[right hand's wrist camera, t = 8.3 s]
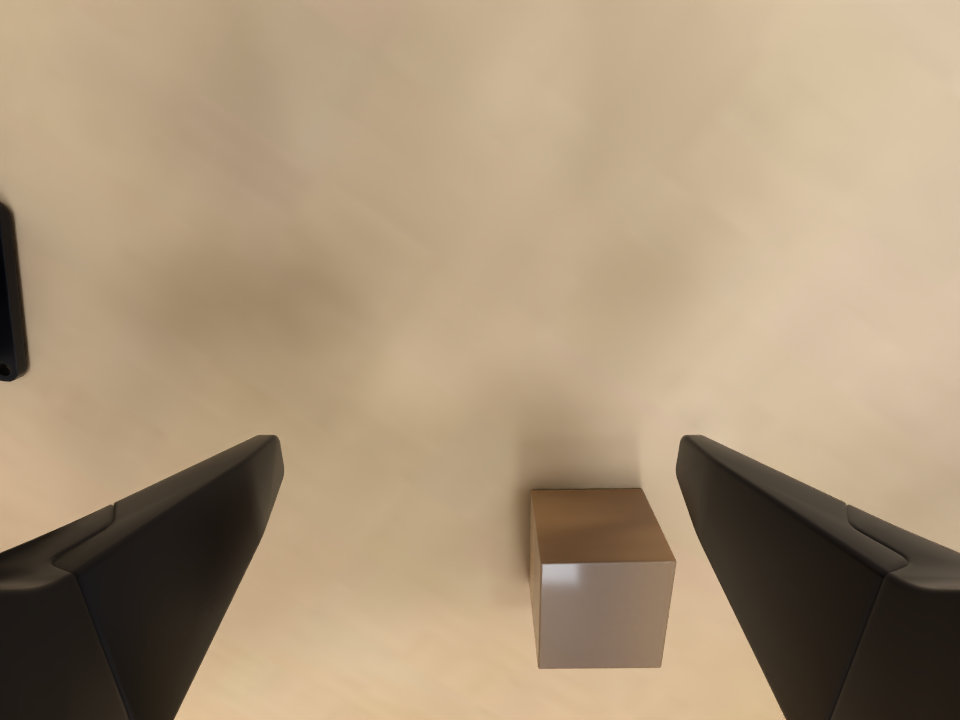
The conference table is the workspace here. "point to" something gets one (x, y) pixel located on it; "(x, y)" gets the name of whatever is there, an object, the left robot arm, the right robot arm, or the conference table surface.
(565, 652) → the block
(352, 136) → the conference table surface
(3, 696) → the right robot arm
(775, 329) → the conference table surface
